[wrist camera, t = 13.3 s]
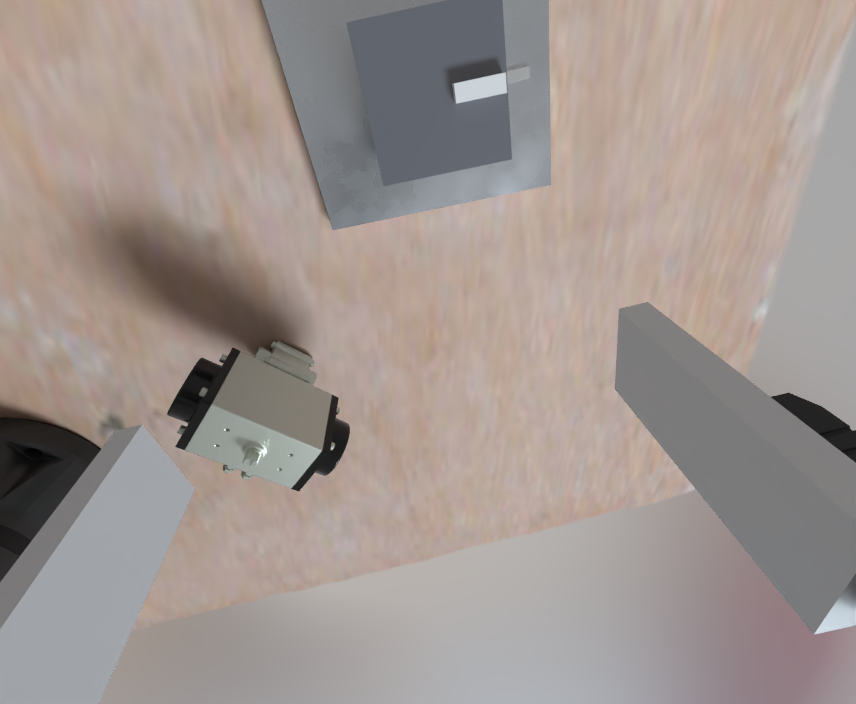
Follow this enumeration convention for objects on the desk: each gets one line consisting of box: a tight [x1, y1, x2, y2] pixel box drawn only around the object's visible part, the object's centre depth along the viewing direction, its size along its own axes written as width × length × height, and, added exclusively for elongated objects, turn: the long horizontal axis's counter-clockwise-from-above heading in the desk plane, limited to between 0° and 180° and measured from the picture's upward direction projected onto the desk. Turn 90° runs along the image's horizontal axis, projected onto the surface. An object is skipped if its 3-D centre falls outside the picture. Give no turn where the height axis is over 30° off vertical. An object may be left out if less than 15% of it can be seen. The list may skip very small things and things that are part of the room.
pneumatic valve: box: [167, 341, 350, 491], centre depth 32 cm, size 6×12×12 cm, turn 53°
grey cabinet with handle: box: [346, 0, 512, 186], centre depth 22 cm, size 7×7×8 cm
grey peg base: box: [262, 0, 551, 230], centre depth 24 cm, size 16×14×7 cm
